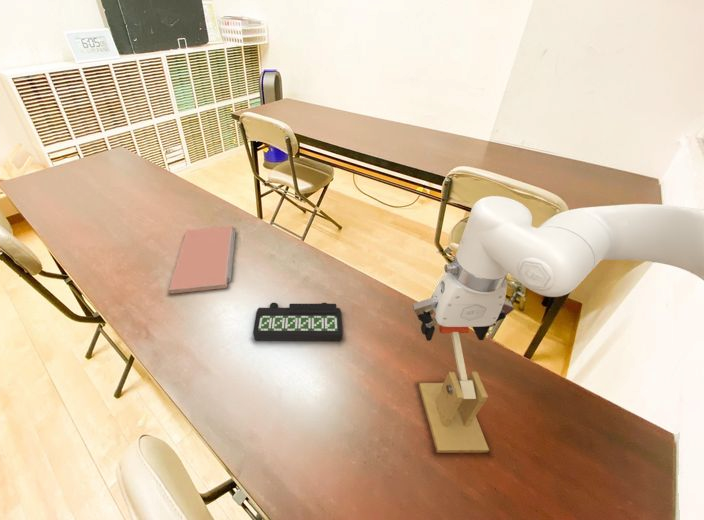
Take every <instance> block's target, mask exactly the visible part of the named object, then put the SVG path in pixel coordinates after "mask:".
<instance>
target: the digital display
mask: <svg viewBox="0 0 704 520" xmlns="http://www.w3.org/2000/svg"><path fill="white" fill-rule="evenodd" d="M255 313H256V314H255V319H254V324H253V331H252V334H253V338H254V340H255V341H256V342H342V340H343V325H342V324H343V321H342V310H341V308H340V307H338V306H337V304H336V303H328V302H321V303H289V305H288V307H279V303H277V302H271V303H270V304H269V307H258V308H257V309H256V312H255Z"/></svg>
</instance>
